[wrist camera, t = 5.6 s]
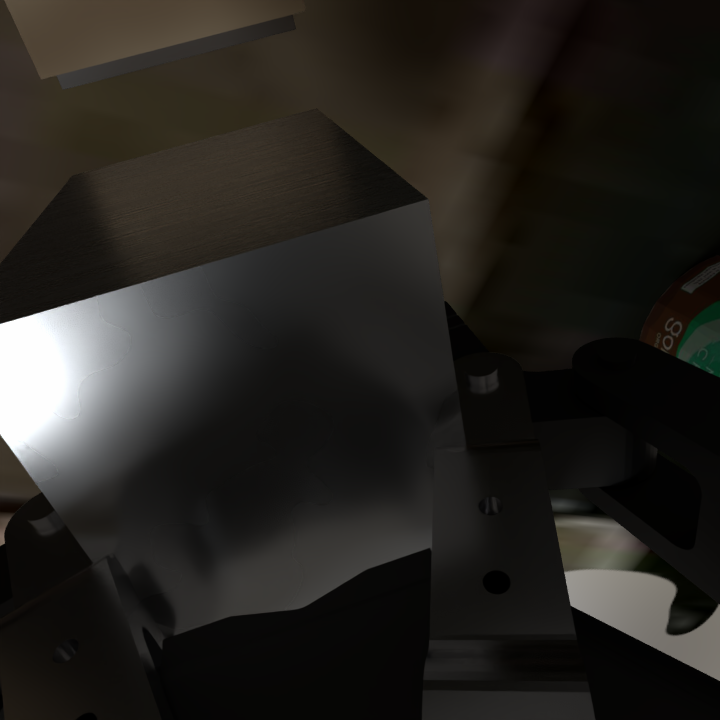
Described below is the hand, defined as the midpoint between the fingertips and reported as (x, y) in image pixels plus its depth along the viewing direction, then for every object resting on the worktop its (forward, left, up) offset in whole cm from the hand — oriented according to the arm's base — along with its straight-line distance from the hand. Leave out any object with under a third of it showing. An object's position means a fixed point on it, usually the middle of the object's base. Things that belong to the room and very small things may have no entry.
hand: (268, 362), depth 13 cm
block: (0, 0, -1) cm, 1 cm away
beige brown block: (-7, 0, -15) cm, 17 cm away
